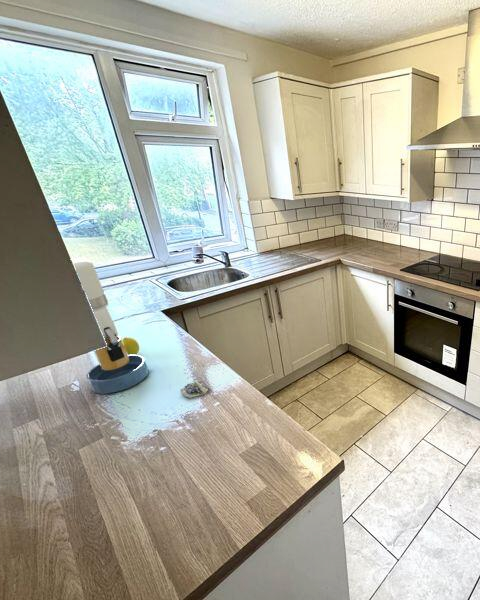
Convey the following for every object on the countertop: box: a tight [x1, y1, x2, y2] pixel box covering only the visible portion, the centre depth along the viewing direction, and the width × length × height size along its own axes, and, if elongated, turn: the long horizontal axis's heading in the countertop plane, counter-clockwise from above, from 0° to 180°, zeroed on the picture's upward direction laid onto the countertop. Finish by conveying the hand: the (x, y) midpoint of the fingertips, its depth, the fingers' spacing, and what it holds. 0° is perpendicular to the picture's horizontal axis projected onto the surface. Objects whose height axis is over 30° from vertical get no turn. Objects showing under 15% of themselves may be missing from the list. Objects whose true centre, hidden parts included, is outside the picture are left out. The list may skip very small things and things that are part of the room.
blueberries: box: [179, 381, 209, 399], centre depth 99 cm, size 7×8×2 cm
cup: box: [93, 335, 130, 370], centre depth 100 cm, size 7×7×8 cm
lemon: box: [121, 336, 140, 355], centre depth 114 cm, size 6×6×8 cm
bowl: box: [86, 354, 150, 395], centre depth 103 cm, size 14×14×5 cm
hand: (112, 355), depth 100 cm, fingers closed on cup, 6 cm apart
